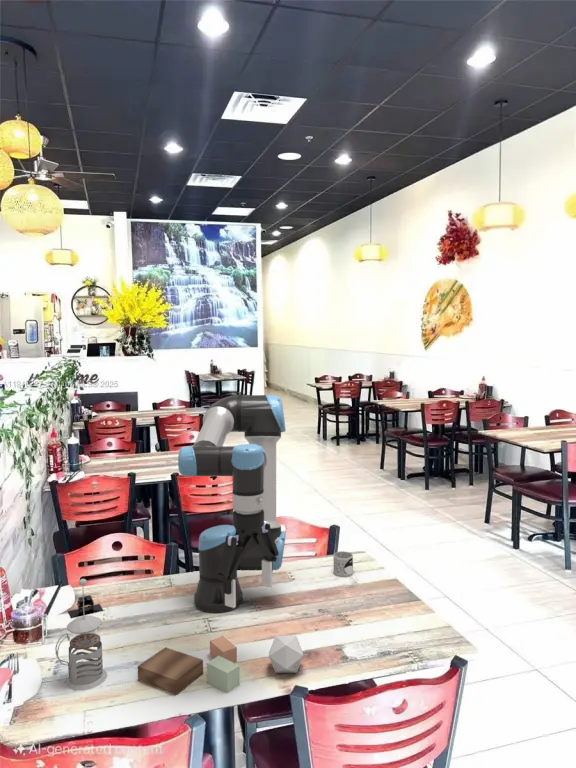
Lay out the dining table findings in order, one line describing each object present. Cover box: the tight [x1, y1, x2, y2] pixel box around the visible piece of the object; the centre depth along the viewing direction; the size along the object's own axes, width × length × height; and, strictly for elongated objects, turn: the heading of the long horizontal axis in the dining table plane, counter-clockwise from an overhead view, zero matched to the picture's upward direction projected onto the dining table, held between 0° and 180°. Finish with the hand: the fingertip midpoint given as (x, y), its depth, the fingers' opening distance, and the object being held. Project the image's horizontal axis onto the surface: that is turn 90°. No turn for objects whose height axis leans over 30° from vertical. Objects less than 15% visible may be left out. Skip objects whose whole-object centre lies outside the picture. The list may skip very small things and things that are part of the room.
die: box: [268, 635, 304, 674], centre depth 148 cm, size 8×9×10 cm
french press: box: [54, 578, 108, 691], centre depth 144 cm, size 10×12×25 cm
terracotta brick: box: [209, 635, 238, 663], centre depth 154 cm, size 7×4×4 cm, turn 36°
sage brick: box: [206, 656, 241, 694], centre depth 143 cm, size 7×4×5 cm, turn 51°
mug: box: [333, 551, 354, 578], centre depth 209 cm, size 10×7×7 cm, turn 149°
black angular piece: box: [67, 594, 104, 619], centre depth 181 cm, size 12×7×5 cm, turn 120°
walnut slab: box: [137, 647, 204, 696], centre depth 145 cm, size 12×10×4 cm
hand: (249, 596), depth 144 cm, fingers open, 13 cm apart
